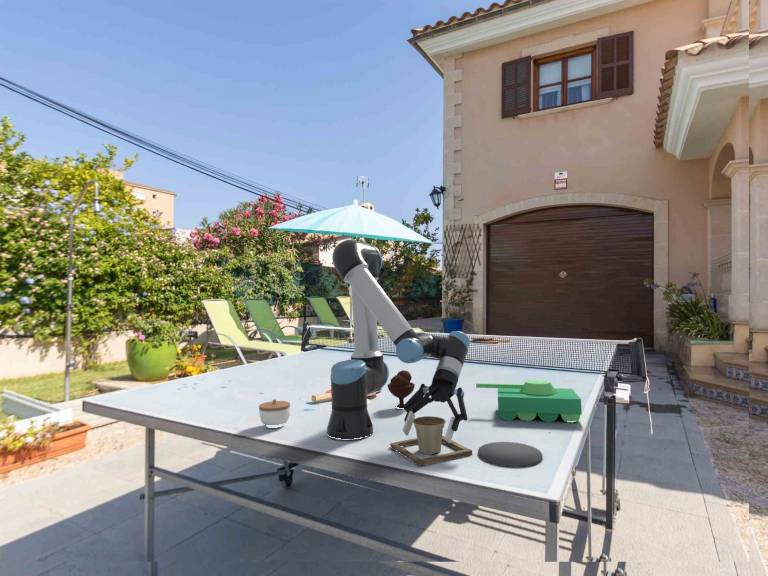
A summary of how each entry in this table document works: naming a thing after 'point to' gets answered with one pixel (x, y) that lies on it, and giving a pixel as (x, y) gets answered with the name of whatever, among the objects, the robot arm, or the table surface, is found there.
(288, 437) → the table surface
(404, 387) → the ice cream bowl
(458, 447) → the walnut frame
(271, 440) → the table surface
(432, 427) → the flower pot
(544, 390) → the toy tank
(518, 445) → the rubber mat
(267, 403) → the lidded jar
